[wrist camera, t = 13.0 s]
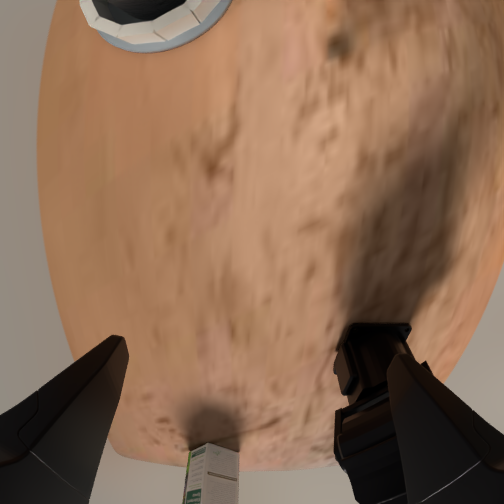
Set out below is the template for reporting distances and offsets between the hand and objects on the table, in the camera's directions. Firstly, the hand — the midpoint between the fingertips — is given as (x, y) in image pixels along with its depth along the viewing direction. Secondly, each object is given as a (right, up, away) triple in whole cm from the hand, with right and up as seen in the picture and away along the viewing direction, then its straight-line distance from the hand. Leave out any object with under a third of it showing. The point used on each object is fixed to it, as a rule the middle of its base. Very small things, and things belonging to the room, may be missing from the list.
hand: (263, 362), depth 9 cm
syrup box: (-6, -27, +28) cm, 39 cm away
